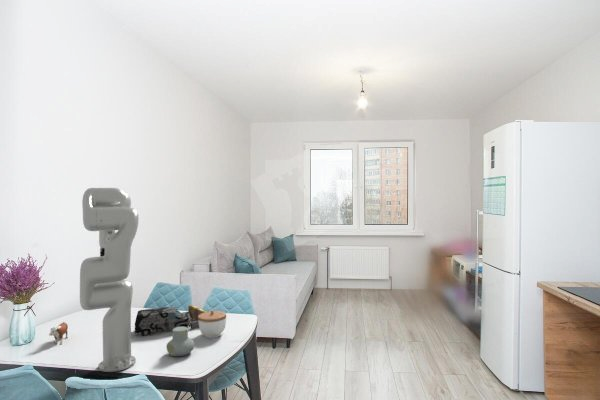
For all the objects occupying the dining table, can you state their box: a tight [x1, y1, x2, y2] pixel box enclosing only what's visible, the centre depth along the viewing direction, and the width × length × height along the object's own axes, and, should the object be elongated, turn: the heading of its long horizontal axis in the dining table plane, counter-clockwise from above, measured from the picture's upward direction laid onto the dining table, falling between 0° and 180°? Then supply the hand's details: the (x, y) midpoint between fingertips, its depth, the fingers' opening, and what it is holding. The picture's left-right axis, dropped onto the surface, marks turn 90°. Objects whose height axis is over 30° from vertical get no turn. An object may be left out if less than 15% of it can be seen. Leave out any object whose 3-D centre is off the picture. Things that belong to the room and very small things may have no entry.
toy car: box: [133, 306, 191, 337], centre depth 181 cm, size 11×25×10 cm, turn 109°
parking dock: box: [182, 304, 207, 330], centre depth 191 cm, size 19×9×6 cm, turn 41°
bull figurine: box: [48, 321, 69, 346], centre depth 167 cm, size 4×13×8 cm, turn 11°
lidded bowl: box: [198, 309, 227, 339], centre depth 174 cm, size 13×13×11 cm
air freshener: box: [166, 327, 195, 357], centre depth 153 cm, size 11×8×10 cm
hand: (107, 260), depth 174 cm, fingers open, 9 cm apart
